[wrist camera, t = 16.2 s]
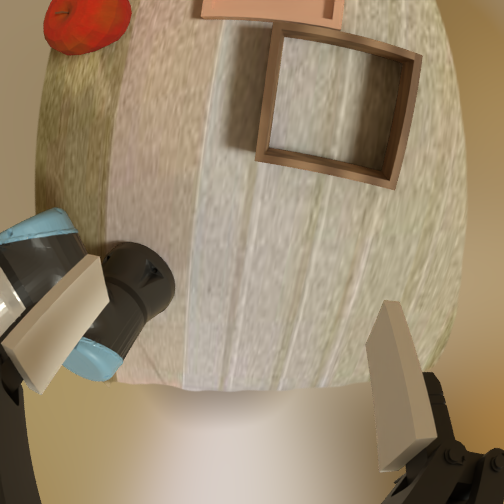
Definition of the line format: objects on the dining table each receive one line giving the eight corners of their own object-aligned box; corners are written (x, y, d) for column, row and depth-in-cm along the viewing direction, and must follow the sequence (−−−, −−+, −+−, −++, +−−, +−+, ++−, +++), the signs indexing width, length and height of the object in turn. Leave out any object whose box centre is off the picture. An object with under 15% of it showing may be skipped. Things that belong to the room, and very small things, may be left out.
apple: (155, 39, 34) (97, 27, 22) (93, 68, 37) (30, 72, 25) (143, -23, 29) (88, -48, 16) (83, 9, 32) (24, 1, 19)
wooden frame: (260, 153, 41) (254, 160, 36) (277, 29, 32) (273, 21, 27) (385, 179, 39) (394, 190, 35) (410, 59, 30) (422, 55, 26)
